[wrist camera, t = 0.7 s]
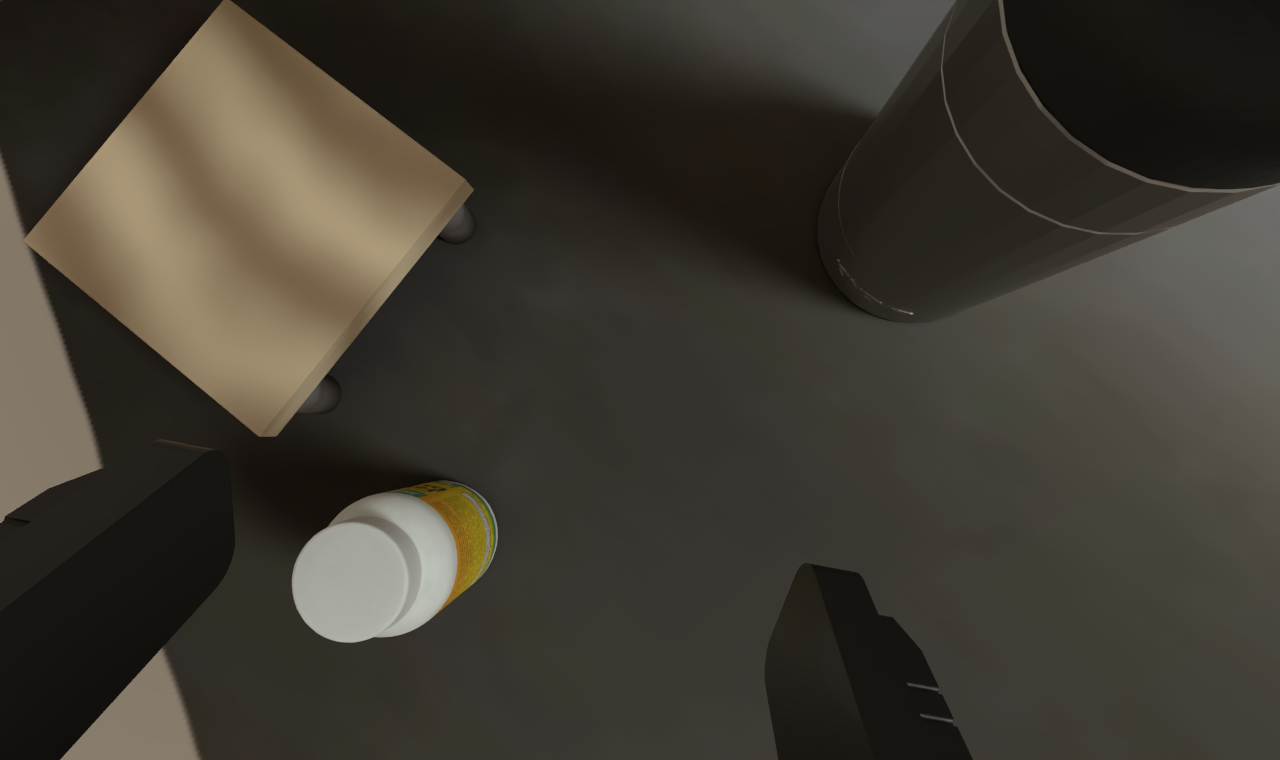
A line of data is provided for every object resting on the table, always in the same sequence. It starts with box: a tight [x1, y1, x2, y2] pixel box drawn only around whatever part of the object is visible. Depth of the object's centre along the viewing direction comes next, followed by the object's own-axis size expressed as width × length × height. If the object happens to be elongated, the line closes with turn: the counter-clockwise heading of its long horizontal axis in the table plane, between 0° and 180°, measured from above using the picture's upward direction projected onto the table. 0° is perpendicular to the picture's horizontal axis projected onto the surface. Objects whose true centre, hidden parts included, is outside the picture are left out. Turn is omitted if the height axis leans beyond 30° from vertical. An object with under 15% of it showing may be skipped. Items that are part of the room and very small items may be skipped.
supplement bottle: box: [292, 481, 498, 642], centre depth 26 cm, size 6×6×10 cm
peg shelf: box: [23, 0, 476, 437], centre depth 30 cm, size 14×14×5 cm
